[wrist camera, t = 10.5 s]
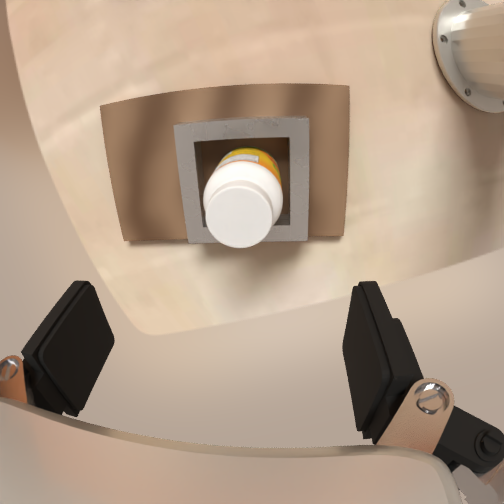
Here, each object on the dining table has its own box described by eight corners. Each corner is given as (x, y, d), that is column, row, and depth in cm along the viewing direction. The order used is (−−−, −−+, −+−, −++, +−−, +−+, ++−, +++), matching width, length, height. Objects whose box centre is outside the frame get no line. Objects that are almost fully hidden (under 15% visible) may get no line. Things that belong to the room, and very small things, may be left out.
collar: (305, 115, 24) (308, 118, 22) (304, 228, 29) (307, 240, 27) (181, 122, 24) (173, 125, 22) (194, 231, 30) (188, 243, 27)
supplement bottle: (281, 201, 28) (286, 257, 19) (221, 205, 28) (201, 261, 20) (277, 142, 25) (283, 171, 17) (214, 147, 26) (186, 179, 17)
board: (346, 85, 23) (349, 85, 22) (341, 231, 30) (343, 235, 29) (104, 104, 24) (99, 105, 24) (127, 236, 31) (124, 241, 30)
